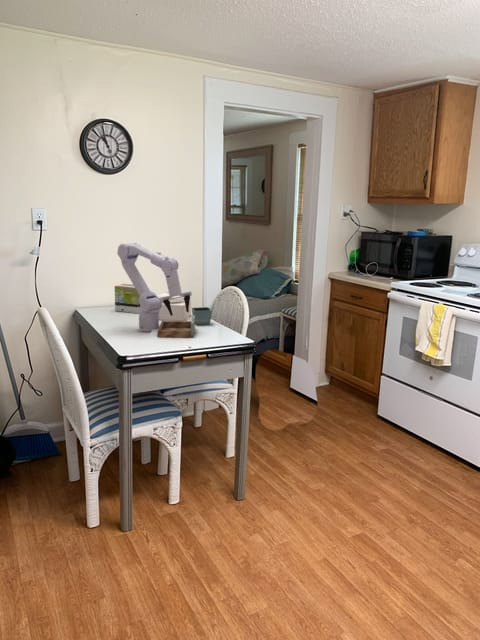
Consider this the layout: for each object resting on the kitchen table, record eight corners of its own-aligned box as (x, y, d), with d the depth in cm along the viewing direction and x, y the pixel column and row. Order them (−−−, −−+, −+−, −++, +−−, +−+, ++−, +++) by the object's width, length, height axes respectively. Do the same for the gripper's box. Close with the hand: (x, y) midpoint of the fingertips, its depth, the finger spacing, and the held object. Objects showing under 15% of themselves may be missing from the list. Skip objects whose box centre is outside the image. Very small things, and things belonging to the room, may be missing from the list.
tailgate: (190, 336, 227) (190, 323, 226) (192, 327, 244) (192, 315, 243) (195, 336, 227) (195, 323, 226) (196, 327, 244) (196, 315, 243)
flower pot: (194, 328, 249) (194, 310, 247) (191, 324, 258) (191, 307, 256) (211, 328, 252) (212, 310, 250) (208, 324, 260) (208, 307, 258)
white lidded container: (190, 315, 282) (191, 286, 278) (184, 322, 264) (184, 292, 261) (160, 313, 283) (159, 285, 280) (151, 320, 266) (150, 290, 263)
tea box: (114, 311, 285) (113, 285, 282) (123, 308, 294) (122, 283, 291) (138, 313, 281) (138, 287, 278) (146, 310, 290) (146, 285, 287)
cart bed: (157, 340, 225) (157, 330, 224) (161, 330, 245) (161, 320, 244) (193, 341, 226) (193, 331, 225) (194, 330, 246) (195, 321, 245)
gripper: (159, 287, 227) (165, 317, 228) (190, 281, 231) (196, 310, 232) (157, 288, 234) (163, 316, 235) (187, 282, 238) (193, 310, 239)
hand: (179, 313), depth 234 cm, fingers open, 7 cm apart
